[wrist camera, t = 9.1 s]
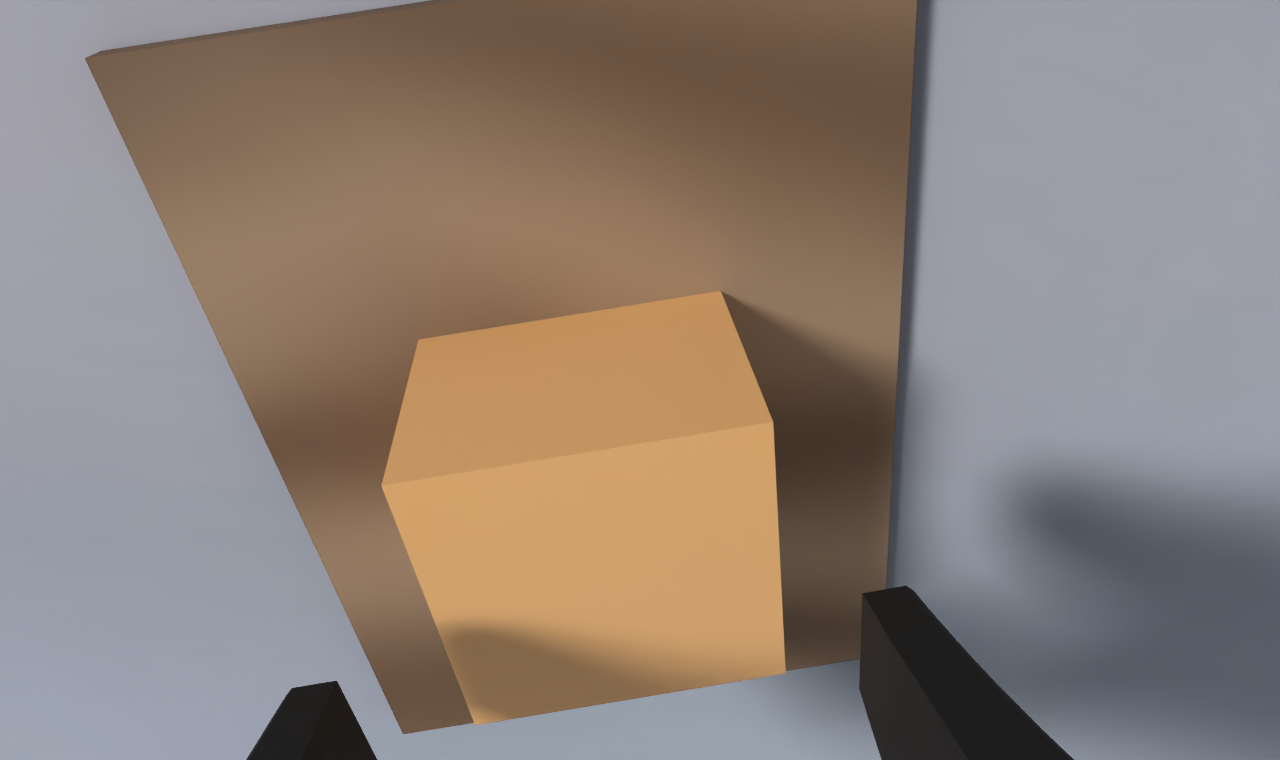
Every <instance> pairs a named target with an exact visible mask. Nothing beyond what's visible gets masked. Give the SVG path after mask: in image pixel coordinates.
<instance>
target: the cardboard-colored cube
mask: <svg viewBox="0 0 1280 760" xmlns="http://www.w3.org/2000/svg"><path fill="white" fill-rule="evenodd" d="M381 486H382V489H383V491H384V494H385V497H386V499H387V502H388V504H389V507H390V509H391V512H392V514H393V517H394V520H395V522H396V525H397V527H398V530H399V532H400V535H401V537H402V540H403V543H404V545H405V548H406V550H407V553H408V555H409V558H410V560H411V563H412V565H413V568H414V571H415V573H416V576H417V578H418V581H419V583H420V586H421V588H422V591H423V594H424V596H425V599H426V601H427V604H428V606H429V609H430V611H431V614H432V617H433V619H434V622H435V624H436V627H437V629H438V632H439V634H440V637H441V639H442V642H443V645H444V647H445V650H446V652H447V655H448V657H449V660H450V662H451V665H452V668H453V670H454V673H455V675H456V678H457V680H458V683H459V685H460V688H461V691H462V693H463V696H464V698H465V701H466V703H467V706H468V708H469V711H470V713H471V716H472V719H473V721H474V724H475V725H479V724H485V723H491V722H497V721H503V720H509V719H515V718H521V717H527V716H533V715H539V714H545V713H551V712H557V711H563V710H569V709H575V708H581V707H587V706H593V705H599V704H605V703H611V702H617V701H623V700H629V699H635V698H641V697H647V696H653V695H659V694H665V693H671V692H677V691H683V690H689V689H695V688H701V687H707V686H713V685H719V684H725V683H731V682H737V681H743V680H749V679H755V678H761V677H767V676H773V675H779V674H785V673H786V670H785V650H784V630H783V609H782V589H781V569H780V549H779V528H778V508H777V488H776V468H775V448H774V427H773V420H772V418H771V415H770V413H769V410H768V408H767V405H766V403H765V400H764V398H763V395H762V393H761V390H760V388H759V385H758V383H757V380H756V378H755V375H754V373H753V370H752V368H751V365H750V363H749V360H748V358H747V355H746V353H745V350H744V348H743V345H742V343H741V340H740V338H739V335H738V333H737V330H736V328H735V325H734V323H733V320H732V318H731V315H730V313H729V310H728V308H727V305H726V303H725V300H724V298H723V295H722V293H721V291H718V292H711V293H705V294H699V295H693V296H687V297H680V298H674V299H668V300H662V301H656V302H649V303H643V304H637V305H631V306H624V307H618V308H612V309H606V310H600V311H593V312H587V313H581V314H575V315H568V316H562V317H556V318H550V319H544V320H537V321H531V322H525V323H519V324H512V325H506V326H500V327H494V328H488V329H481V330H475V331H469V332H463V333H457V334H450V335H444V336H438V337H432V338H425V339H419V340H418V343H417V347H416V351H415V355H414V359H413V363H412V367H411V371H410V375H409V379H408V383H407V387H406V391H405V395H404V398H403V402H402V406H401V410H400V414H399V418H398V422H397V426H396V430H395V434H394V438H393V442H392V446H391V450H390V454H389V458H388V461H387V465H386V469H385V473H384V477H383V481H382V485H381Z"/></svg>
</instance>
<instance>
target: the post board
mask: <svg viewBox="0 0 1280 760" xmlns="http://www.w3.org/2000/svg"><path fill="white" fill-rule="evenodd" d="M916 14H917V0H431V1H425V2H418V3H412V4H405V5H399V6H392V7H386V8H379V9H373V10H366V11H360V12H353V13H347V14H340V15H333V16H327V17H320V18H314V19H307V20H301V21H294V22H288V23H281V24H275V25H268V26H262V27H255V28H249V29H242V30H236V31H229V32H222V33H216V34H209V35H203V36H196V37H190V38H183V39H177V40H170V41H164V42H157V43H151V44H144V45H138V46H131V47H124V48H118V49H111V50H105V51H100V52H98V53H96V54H93V55H91V56H89V57H87V58H85V60H86V62H87V64H88V66H89V68H90V70H91V72H92V74H93V77H94V79H95V81H96V83H97V85H98V87H99V89H100V91H101V94H102V96H103V98H104V100H105V102H106V104H107V106H108V108H109V111H110V113H111V115H112V117H113V119H114V121H115V123H116V125H117V128H118V130H119V132H120V134H121V136H122V138H123V140H124V142H125V145H126V147H127V149H128V151H129V153H130V155H131V157H132V159H133V162H134V164H135V166H136V168H137V170H138V172H139V174H140V176H141V179H142V181H143V183H144V185H145V187H146V189H147V191H148V193H149V196H150V198H151V200H152V202H153V204H154V206H155V208H156V210H157V212H158V215H159V217H160V219H161V221H162V223H163V225H164V227H165V229H166V232H167V234H168V236H169V238H170V240H171V242H172V244H173V246H174V249H175V251H176V253H177V255H178V257H179V259H180V261H181V263H182V266H183V268H184V270H185V272H186V274H187V276H188V278H189V280H190V283H191V285H192V287H193V289H194V291H195V293H196V295H197V297H198V300H199V302H200V304H201V306H202V308H203V310H204V312H205V314H206V317H207V319H208V321H209V323H210V325H211V327H212V329H213V331H214V333H215V336H216V338H217V340H218V342H219V344H220V346H221V348H222V350H223V353H224V355H225V357H226V359H227V361H228V363H229V365H230V367H231V370H232V372H233V374H234V376H235V378H236V380H237V382H238V384H239V387H240V389H241V391H242V393H243V395H244V397H245V399H246V401H247V404H248V406H249V408H250V410H251V412H252V414H253V416H254V418H255V421H256V423H257V425H258V427H259V429H260V431H261V433H262V435H263V438H264V440H265V442H266V444H267V446H268V448H269V450H270V452H271V455H272V457H273V459H274V461H275V463H276V465H277V467H278V469H279V471H280V474H281V476H282V478H283V480H284V482H285V484H286V486H287V488H288V491H289V493H290V495H291V497H292V499H293V501H294V503H295V505H296V508H297V510H298V512H299V514H300V516H301V518H302V520H303V522H304V525H305V527H306V529H307V531H308V533H309V535H310V537H311V539H312V542H313V544H314V546H315V548H316V550H317V552H318V554H319V556H320V559H321V561H322V563H323V565H324V567H325V569H326V571H327V573H328V576H329V578H330V580H331V582H332V584H333V586H334V588H335V590H336V593H337V595H338V597H339V599H340V601H341V603H342V605H343V607H344V609H345V612H346V614H347V616H348V618H349V620H350V622H351V624H352V626H353V629H354V631H355V633H356V635H357V637H358V639H359V641H360V643H361V646H362V648H363V650H364V652H365V654H366V656H367V658H368V660H369V663H370V665H371V667H372V669H373V671H374V673H375V675H376V677H377V680H378V682H379V684H380V686H381V688H382V690H383V692H384V694H385V697H386V699H387V701H388V703H389V705H390V707H391V709H392V711H393V714H394V716H395V718H396V720H397V722H398V724H399V726H400V728H401V731H402V733H403V734H408V733H414V732H420V731H426V730H432V729H438V728H444V727H450V726H456V725H462V724H468V723H474V721H473V719H472V716H471V713H470V711H469V708H468V706H467V703H466V701H465V698H464V696H463V693H462V691H461V688H460V685H459V683H458V680H457V678H456V675H455V673H454V670H453V668H452V665H451V662H450V660H449V657H448V655H447V652H446V650H445V647H444V645H443V642H442V639H441V637H440V634H439V632H438V629H437V627H436V624H435V622H434V619H433V617H432V614H431V611H430V609H429V606H428V604H427V601H426V599H425V596H424V594H423V591H422V588H421V586H420V583H419V581H418V578H417V576H416V573H415V571H414V568H413V565H412V563H411V560H410V558H409V555H408V553H407V550H406V548H405V545H404V543H403V540H402V537H401V535H400V532H399V530H398V527H397V525H396V522H395V520H394V517H393V514H392V512H391V509H390V507H389V504H388V502H387V499H386V497H385V494H384V491H383V489H382V486H381V485H382V481H383V477H384V473H385V469H386V465H387V461H388V458H389V454H390V450H391V446H392V442H393V438H394V434H395V430H396V426H397V422H398V418H399V414H400V410H401V406H402V402H403V398H404V395H405V391H406V387H407V383H408V379H409V375H410V371H411V367H412V363H413V359H414V355H415V351H416V347H417V343H418V340H419V339H425V338H432V337H438V336H444V335H450V334H457V333H463V332H469V331H475V330H481V329H488V328H494V327H500V326H506V325H512V324H519V323H525V322H531V321H537V320H544V319H550V318H556V317H562V316H568V315H575V314H581V313H587V312H593V311H600V310H606V309H612V308H618V307H624V306H631V305H637V304H643V303H649V302H656V301H662V300H668V299H674V298H680V297H687V296H693V295H699V294H705V293H711V292H718V291H721V293H722V295H723V298H724V300H725V303H726V305H727V308H728V310H729V313H730V315H731V318H732V320H733V323H734V325H735V328H736V330H737V333H738V335H739V338H740V340H741V343H742V345H743V348H744V350H745V353H746V355H747V358H748V360H749V363H750V365H751V368H752V370H753V373H754V375H755V378H756V380H757V383H758V385H759V388H760V390H761V393H762V395H763V398H764V400H765V403H766V405H767V408H768V410H769V413H770V415H771V418H772V420H773V427H774V448H775V468H776V488H777V508H778V528H779V549H780V569H781V589H782V609H783V630H784V650H785V670H786V671H789V670H795V669H801V668H807V667H813V666H819V665H825V664H831V663H837V662H843V661H849V660H855V659H860V651H861V616H862V593H866V592H872V591H878V590H884V589H886V578H887V560H888V541H889V522H890V503H891V484H892V465H893V447H894V428H895V409H896V390H897V371H898V353H899V334H900V315H901V296H902V277H903V258H904V240H905V221H906V202H907V183H908V164H909V145H910V127H911V108H912V89H913V70H914V51H915V33H916Z"/></svg>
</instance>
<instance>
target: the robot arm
mask: <svg viewBox="0 0 1280 760" xmlns="http://www.w3.org/2000/svg"><path fill="white" fill-rule="evenodd" d="M859 689H860V692H861V695H862V698H863V702H864V705H865V708H866V711H867V715H868V718H869V721H870V725H871V728H872V731H873V734H874V737H875V740H876V744H877V747H878V750H879V753H880V756H881V759H882V760H1074V759H1073V758H1072V757H1071V756H1069V755H1068V754H1067V753H1066V752H1065V751H1064V750H1063V749H1062V748H1061V747H1060V746H1059V745H1058V744H1057V743H1056V742H1055V741H1054V740H1053V739H1052V738H1050V737H1049V736H1048V735H1047V734H1046V733H1045V732H1044V731H1043V730H1042V729H1041V728H1040V727H1039V726H1038V725H1037V724H1036V723H1035V722H1034V721H1033V720H1032V719H1031V718H1030V717H1029V716H1028V715H1027V714H1026V713H1025V712H1024V711H1023V710H1022V709H1021V708H1020V707H1019V706H1018V705H1017V704H1016V703H1015V702H1014V701H1013V700H1012V699H1011V698H1010V697H1009V696H1008V695H1007V694H1006V693H1005V692H1004V691H1003V690H1002V689H1001V688H1000V687H999V686H998V685H997V684H996V683H995V681H994V680H993V679H992V678H991V677H990V676H989V675H988V674H987V673H986V672H985V671H984V670H983V669H982V668H981V667H980V666H979V665H978V663H977V662H976V661H975V660H974V659H973V658H972V657H971V656H970V655H969V654H968V653H967V652H966V650H965V649H964V648H963V647H962V646H961V645H960V644H959V643H958V642H957V641H956V639H955V638H954V637H953V636H952V635H951V634H950V633H949V632H948V630H947V629H946V628H945V627H944V626H943V625H942V624H941V622H940V621H939V620H938V619H937V618H936V617H935V616H934V614H933V613H932V612H931V611H930V610H929V609H928V607H927V606H926V605H925V604H924V603H923V601H922V600H921V599H920V598H919V597H918V595H917V594H916V593H915V592H914V591H913V590H912V589H910V588H909V587H907V586H902V587H896V588H890V589H884V590H878V591H872V592H866V593H862V616H861V651H860V685H859ZM247 760H377V759H376V757H375V755H374V753H373V751H372V749H371V747H370V745H369V743H368V741H367V739H366V737H365V735H364V733H363V731H362V729H361V727H360V725H359V723H358V721H357V719H356V717H355V715H354V713H353V712H352V710H351V708H350V706H349V704H348V702H347V700H346V698H345V696H344V694H343V692H342V690H341V688H340V686H339V684H338V682H337V681H332V682H326V683H320V684H314V685H308V686H302V687H296V688H292V689H291V690H290V691H289V693H288V694H287V695H286V697H285V698H284V700H283V702H282V703H281V705H280V706H279V708H278V710H277V711H276V713H275V714H274V716H273V718H272V719H271V721H270V722H269V724H268V726H267V727H266V729H265V731H264V732H263V734H262V735H261V737H260V739H259V740H258V742H257V743H256V745H255V747H254V748H253V750H252V752H251V753H250V755H249V756H248V758H247Z"/></svg>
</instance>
